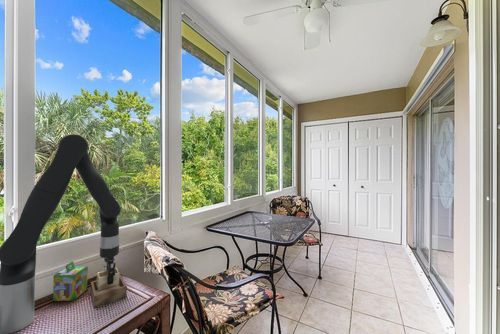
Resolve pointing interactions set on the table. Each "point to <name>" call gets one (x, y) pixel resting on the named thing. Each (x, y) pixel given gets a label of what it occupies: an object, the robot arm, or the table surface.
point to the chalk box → (70, 283)
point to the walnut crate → (108, 293)
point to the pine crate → (102, 280)
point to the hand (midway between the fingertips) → (109, 280)
